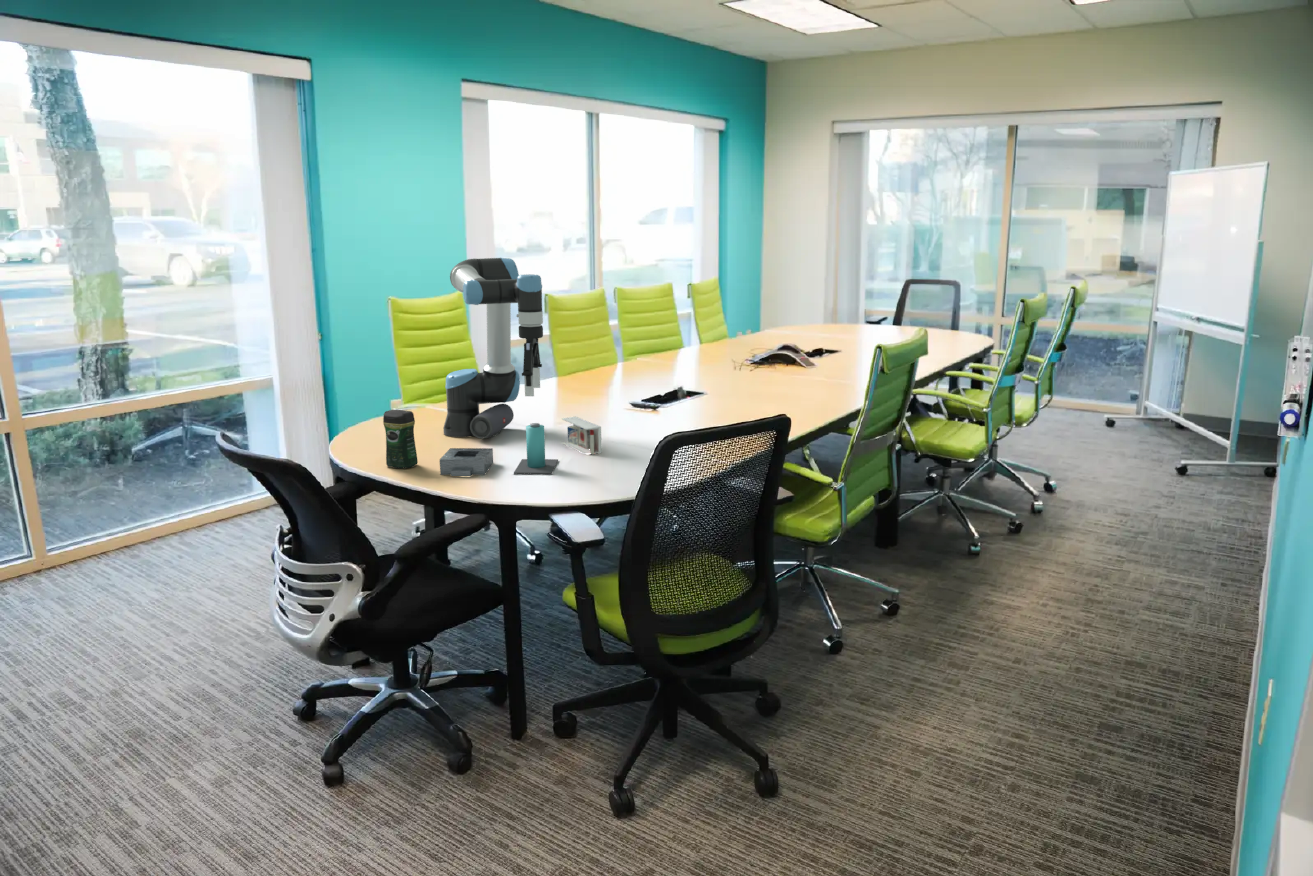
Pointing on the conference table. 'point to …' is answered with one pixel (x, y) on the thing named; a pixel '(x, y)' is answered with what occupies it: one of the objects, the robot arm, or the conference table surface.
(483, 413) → the bluetooth speaker
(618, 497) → the conference table surface
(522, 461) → the mat
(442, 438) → the conference table surface
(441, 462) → the housing
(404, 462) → the coffee jar
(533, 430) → the teal cylinder
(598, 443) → the cigarette display
